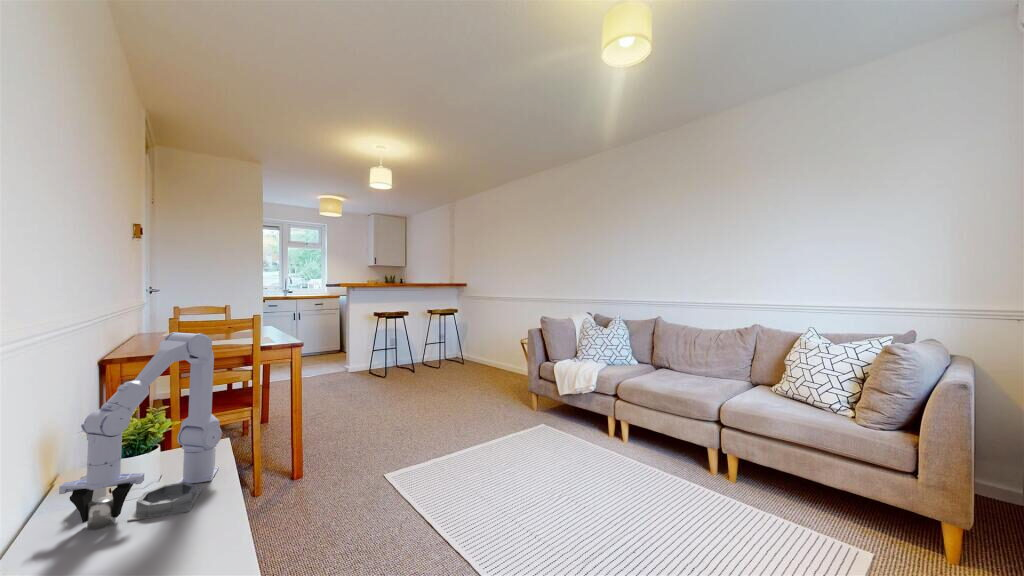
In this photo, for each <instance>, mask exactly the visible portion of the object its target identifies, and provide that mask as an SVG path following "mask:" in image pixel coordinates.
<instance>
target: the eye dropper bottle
mask: <svg viewBox="0 0 1024 576" xmlns="http://www.w3.org/2000/svg"><path fill="white" fill-rule="evenodd" d="M86 478H87V473H85V474H83V475H81V476H80V477H79V480H81V479H86ZM105 496H107V487H104V488H100V489H95V490H94V492H93V497H92V501H93V500H95V499H97V498H101V497H105Z"/></svg>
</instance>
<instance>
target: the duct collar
mask: <svg viewBox="0 0 1024 576" xmlns="http://www.w3.org/2000/svg"><path fill="white" fill-rule="evenodd" d="M202 491H203V488H199V489H198V485H196V484H195V483H192V484H190V483H187V482H184V483H178V482H177V483H170V484H164V485H161V486H159V487H156V488H154V489H151V490H148V491H145V492H143V493H142V495H141V496H140V497H139V498H138V499H137V501H135V502H136V506H135V510H134V512H133V513H132V514H131V515H130V516H129V517H128V519H127V520H126V521H127V522H128V523H129V522H134V521H140V520H146V519H147V520H148V519H153V518H159V517H165V516H172V515H178V514H179V515H180V514H185V513H189V512H191V510H192V508H193V506H194V504H195V503H196V501H197V499H198V498H199V496H200V495H201V493H202Z"/></svg>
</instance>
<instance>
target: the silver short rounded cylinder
mask: <svg viewBox="0 0 1024 576" xmlns="http://www.w3.org/2000/svg"><path fill="white" fill-rule="evenodd" d="M113 507H114V503H113V496H112V495H106V496H105V497H101V498H97V499H95V500H93V501H91V502H89V503H88V518H87V522H86V523H87V524H86V529H87V530H89V531H96V530H100V529H101V530H102V529H104V528H106V527H109V526H111V525H113V524H115V522H116V521H117V520H116V519H117V517H116V518H113Z"/></svg>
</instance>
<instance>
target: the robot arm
mask: <svg viewBox="0 0 1024 576" xmlns="http://www.w3.org/2000/svg"><path fill="white" fill-rule="evenodd" d="M212 348H213V339H212V338H211V337H209V336H208V335H206V334H205V333H188V332H187V333H186V332H180V331H179V332H178V331H174V332H170V333H169V334H167V335H166V336H165V337H164V339H163V340H161V341H160V342H159V343H158V350H157V352H155V354H154V355H153V356H152V357H151V359H150V360H149V361H148V362H147V364H146V365H145V366H144V368H143V369H142V370H141V371H140V372H139V373H138V375H137V377H136V378H134V379H133V380H130V381H125V382H124V383H123V384H120V385H119V386H118V387H117V388H116V392H114V394H113V395H112V396H111V397H110V398H109V399H108V400H107V401H106V402H105V403H103V404H102V405H101V407H100V408H99V409H96V410H94V411H92V412H91V413H89V415H87V416H86V418H85V420H84V422H83V423H81V425H80V428H81V430H82V432H83V433H84V434H86V441H87V456H86V457H87V461H86V462H87V463H86V474H87V478H86V479H81V480H80V479H78V480H71V481H65V482H63V483H62V484H61V485H59V487H58V488H59V489H58V491H59V492H58V494H59V495H64V494H67V493H71V495H70V496H69V502H71V503H72V504H73V505H74V507H75V508H76V509H77V511H78V513H79V515H80V518H81V521H82V523H84V524H85V523H87V518H88V503H89V502H91V501H92V497H93V492H94V490H95V489H100V488H104V487H106V488H111V487H115V488H114V489H112V491H111V494H112V495H111V496H113V503H114V507H113V518H116V519H117V518H118V517H119V515H121V513H122V509H123V506H124V503H125V500H126V498H127V496H128V494H129V492H130V490H131V489H132V487H133V486H134V484H135V485H141V484H142V483H143V482H144V481H145V472H140V473H135V472H134V473H129V472H128V473H123V472H122V473H121V468H122V450H123V449H122V444H123V442H122V441H123V432H124V431H125V430H126V429H128V427H129V426H130V423H131V418H132V416H133V413H134V411H135V410H136V409H137V408H138V407H139V405H141V404H142V403H143V401H144V400H145V399H146V398H147V397H148V396H149V394H150V388H149V387H150V386H151V385H152V384H153V383H154V382H155V381H157V379H158V378H159V377H160V376H161V375H162V374H163V372H165V371H166V370H167V369H168V368H169V367H170V366H171V365H172V364H173V363H175V362H180V361H183V360H185V361H186V362H188V363H189V364H190V370H189V371H190V372H189V391H188V392H189V394H188V413H187V414H188V416H187V417H185V419H184V420H183V421H181V423H180V424H181V425H180V429H179V432H178V434H177V444H179V445H180V446H181V448H182V449H181V450H183V465H182V466H183V469H182V477H181V478H180V480H179V481H178V482H177V483H184V482H187V483H190V484H198V483H206V482H211V481H212V480H213V478H214V476H215V475H216V473H217V471H218V470H219V468H220V467H219V466H216V447H217V445H218V444H219V443H220V441H221V439H222V434H223V433H222V432H223V431H222V429H221V427H220V423H221V422H220V420H219V418H217V417H216V416H215V415H214V414H212V412H213V410H212V409H213V391H214V389H213V388H214V365H215V364H214V363H215V353H214V351H213V349H212Z"/></svg>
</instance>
